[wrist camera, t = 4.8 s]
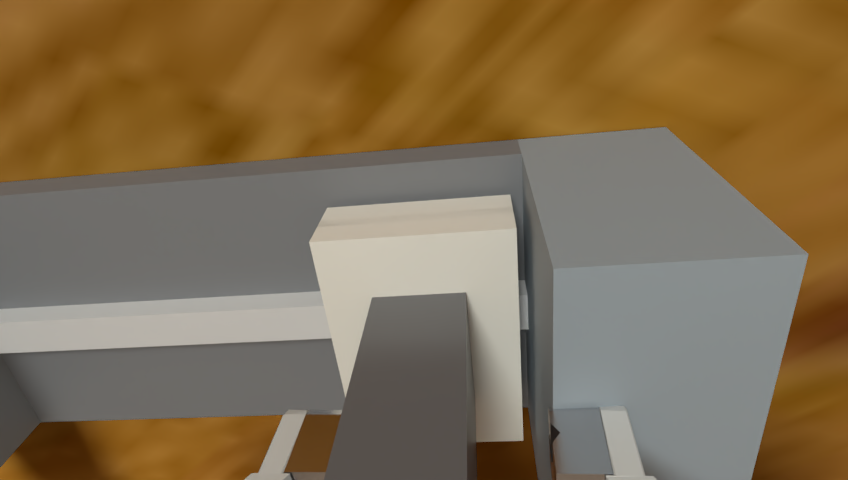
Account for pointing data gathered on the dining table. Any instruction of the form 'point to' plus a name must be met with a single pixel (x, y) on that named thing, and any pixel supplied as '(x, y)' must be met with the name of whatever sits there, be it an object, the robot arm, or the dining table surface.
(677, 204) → the rail base
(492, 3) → the dining table surface
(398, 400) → the carriage
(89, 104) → the dining table surface
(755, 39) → the dining table surface
